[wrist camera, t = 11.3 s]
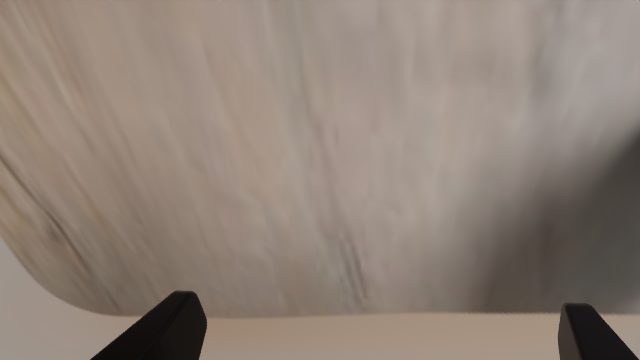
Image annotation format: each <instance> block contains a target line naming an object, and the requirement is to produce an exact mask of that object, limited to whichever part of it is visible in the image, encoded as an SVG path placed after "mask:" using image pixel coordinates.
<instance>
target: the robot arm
mask: <svg viewBox="0 0 640 360" xmlns="http://www.w3.org/2000/svg"><path fill="white" fill-rule="evenodd" d="M206 329H207V319H206V316H205V313H204V311H203V308H202V306H201V303H200V301H199V299H198V296H197V294H196V293H195V292H193V291H175V292H173V293H172V294H170V295H169V296H168V297H167V298H165V299H164V300H163V301H162V302H160V303H159V304H158V305H157V306H156V307H154V308H153V309H152V310H151V311H149V312H148V313H147V314H146V315H144V316H143V317H142V318H141V319H140V320H138V321H137V322H136V323H135V324H133V325H132V326H131V327H130V328H128V329H127V330H126V331H125V332H123V333H122V334H121V335H120V336H119V337H117V338H116V339H115V340H114V341H112V342H111V343H110V344H109V345H108V346H106V347H105V348H104V349H103V350H101V351H100V352H99V353H98V354H96V355H95V356H94V357H93V358H91V359H90V360H199V357H200V353H201V349H202V345H203V341H204V337H205V333H206ZM558 346H559V353H560V360H639V359H638V358H637V357H636V356H635V354H634V353H633V352H632V351H631V350H630V349H629V348H628V347H627V346H626V345H625V343H624V342H623V341H622V340H621V339H620V338H619V336H618V335H617V334H616V333H615V332H614V331H613V330H612V329H611V328H610V326H609V325H608V324H607V323H606V322H605V321H604V320H603V319H602V317H601V316H600V315H599V314H598V313H597V312H596V311H595V310H594V308H593V307H592V306H590V305H589V304H586V303H565V304H563V306H562V309H561V316H560V324H559V332H558Z"/></svg>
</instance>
